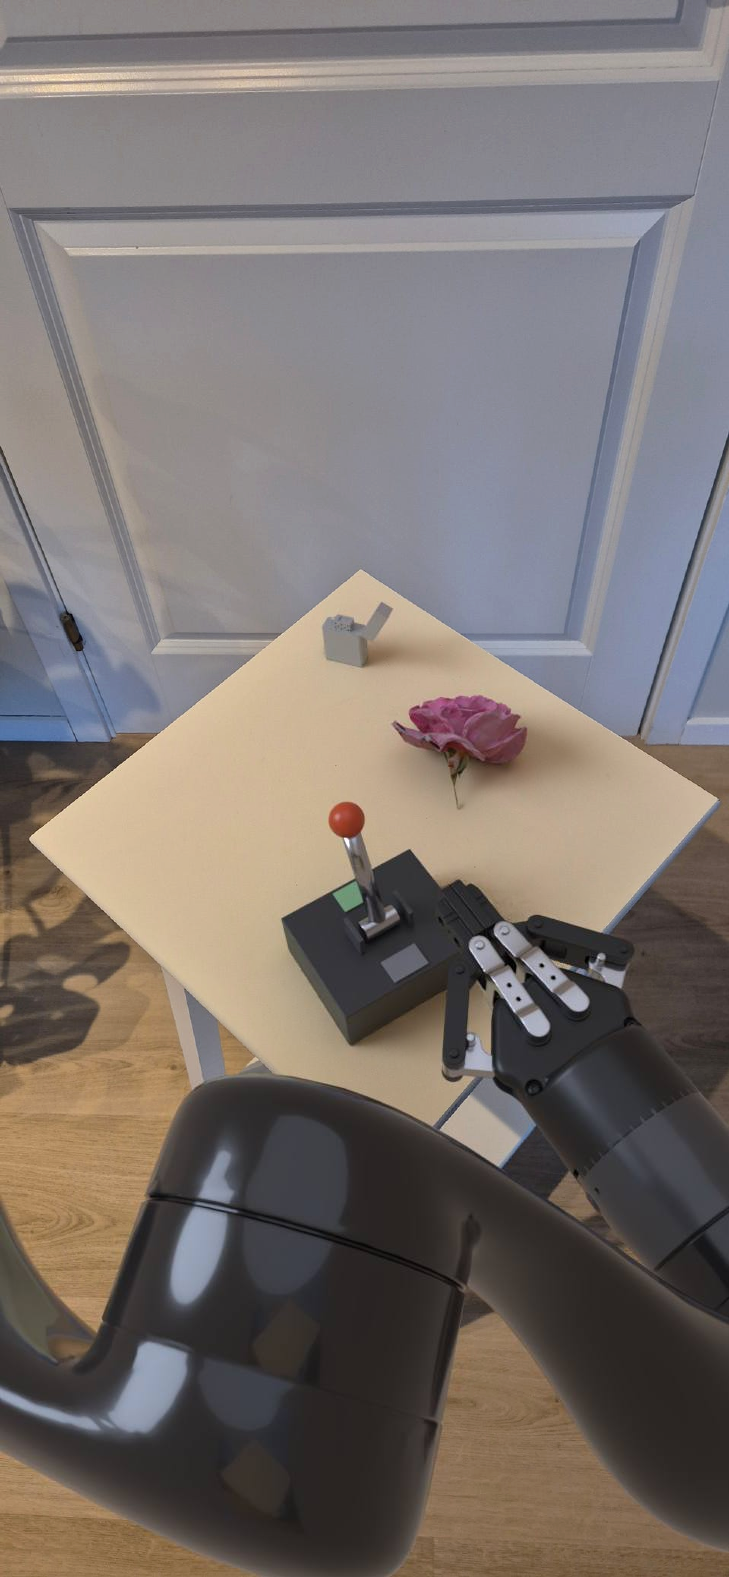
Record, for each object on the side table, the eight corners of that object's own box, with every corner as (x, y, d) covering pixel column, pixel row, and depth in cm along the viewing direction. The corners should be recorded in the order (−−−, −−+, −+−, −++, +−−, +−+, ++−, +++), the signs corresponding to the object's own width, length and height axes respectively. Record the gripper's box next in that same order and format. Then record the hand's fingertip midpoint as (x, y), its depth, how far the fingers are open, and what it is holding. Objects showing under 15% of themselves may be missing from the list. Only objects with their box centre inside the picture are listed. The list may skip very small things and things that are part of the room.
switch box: (350, 1046, 77) (343, 1006, 71) (287, 948, 82) (277, 904, 76) (478, 969, 80) (482, 926, 74) (410, 880, 85) (409, 834, 80)
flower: (422, 741, 99) (468, 655, 95) (498, 801, 95) (551, 713, 91) (355, 755, 90) (403, 660, 85) (437, 822, 86) (491, 726, 81)
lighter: (324, 658, 102) (317, 599, 96) (331, 647, 103) (324, 587, 97) (389, 674, 100) (387, 614, 94) (395, 662, 101) (393, 603, 95)
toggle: (372, 948, 75) (331, 822, 69) (357, 931, 77) (315, 807, 71) (406, 929, 76) (368, 803, 70) (389, 912, 78) (351, 788, 72)
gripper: (766, 1046, 48) (543, 803, 57) (545, 1198, 44) (345, 912, 54) (728, 1102, 54) (532, 874, 63) (530, 1240, 50) (353, 976, 60)
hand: (447, 892), depth 58 cm, fingers closed
